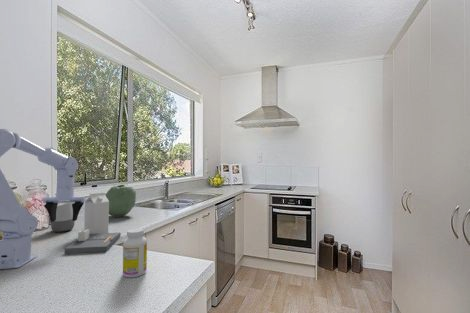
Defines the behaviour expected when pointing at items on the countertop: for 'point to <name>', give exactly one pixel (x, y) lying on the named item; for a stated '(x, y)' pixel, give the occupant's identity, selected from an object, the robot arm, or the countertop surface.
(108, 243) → the console board
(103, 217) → the milk carton
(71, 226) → the smart speaker
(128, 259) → the supplement bottle
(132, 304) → the countertop surface
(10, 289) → the countertop surface
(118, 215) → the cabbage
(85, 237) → the fader knob
